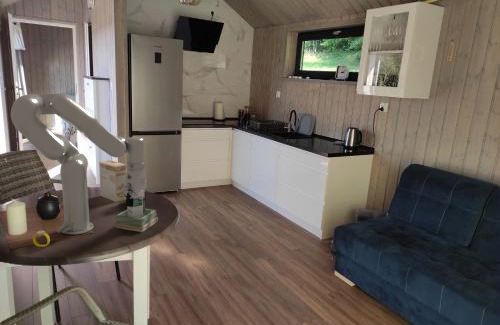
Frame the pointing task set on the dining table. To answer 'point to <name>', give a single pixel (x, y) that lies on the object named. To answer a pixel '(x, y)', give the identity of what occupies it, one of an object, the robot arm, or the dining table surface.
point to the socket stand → (136, 221)
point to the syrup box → (137, 205)
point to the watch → (41, 234)
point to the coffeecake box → (112, 180)
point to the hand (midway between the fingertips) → (136, 203)
